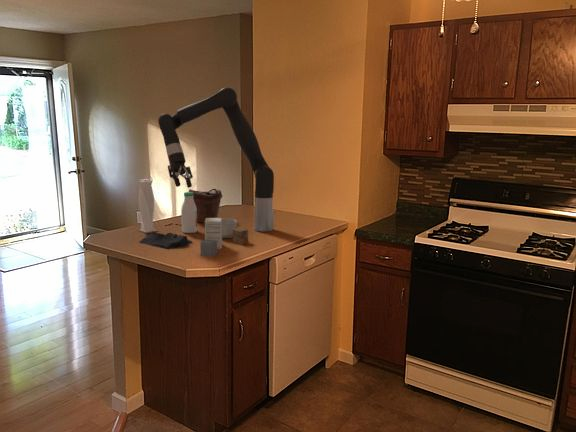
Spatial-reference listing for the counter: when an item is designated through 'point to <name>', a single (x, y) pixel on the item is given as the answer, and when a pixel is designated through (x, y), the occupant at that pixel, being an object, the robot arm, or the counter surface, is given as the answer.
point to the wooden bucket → (207, 203)
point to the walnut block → (240, 236)
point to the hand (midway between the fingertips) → (184, 186)
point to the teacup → (228, 227)
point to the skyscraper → (146, 205)
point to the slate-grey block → (208, 247)
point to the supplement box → (214, 230)
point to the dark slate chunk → (166, 240)
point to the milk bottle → (189, 214)
